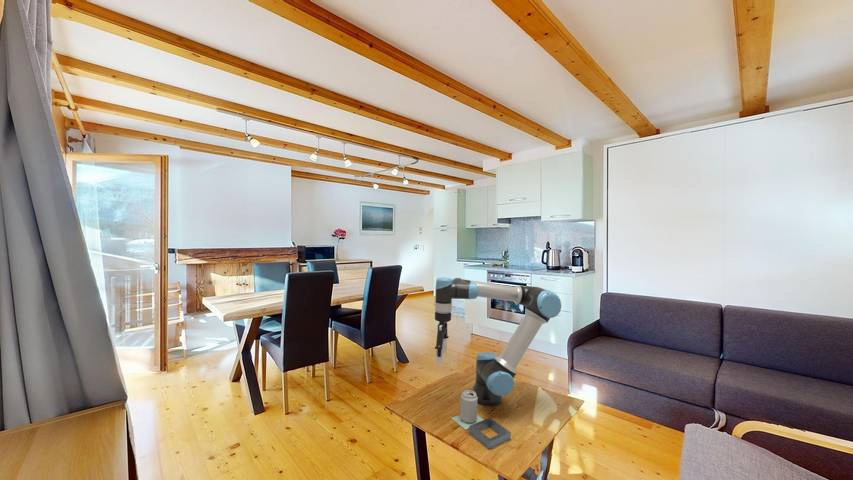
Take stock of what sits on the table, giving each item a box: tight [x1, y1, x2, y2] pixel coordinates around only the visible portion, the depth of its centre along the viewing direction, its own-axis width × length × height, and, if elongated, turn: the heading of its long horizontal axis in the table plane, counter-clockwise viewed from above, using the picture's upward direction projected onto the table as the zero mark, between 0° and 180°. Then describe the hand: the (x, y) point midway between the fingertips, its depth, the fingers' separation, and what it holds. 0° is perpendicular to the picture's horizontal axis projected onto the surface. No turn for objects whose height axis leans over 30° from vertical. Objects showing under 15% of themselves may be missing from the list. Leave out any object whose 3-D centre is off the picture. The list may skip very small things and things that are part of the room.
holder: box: [468, 417, 512, 450], centre depth 131 cm, size 12×12×3 cm
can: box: [459, 389, 478, 423], centre depth 142 cm, size 8×8×12 cm
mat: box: [451, 414, 485, 431], centre depth 142 cm, size 12×10×1 cm
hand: (441, 357), depth 145 cm, fingers open, 13 cm apart
